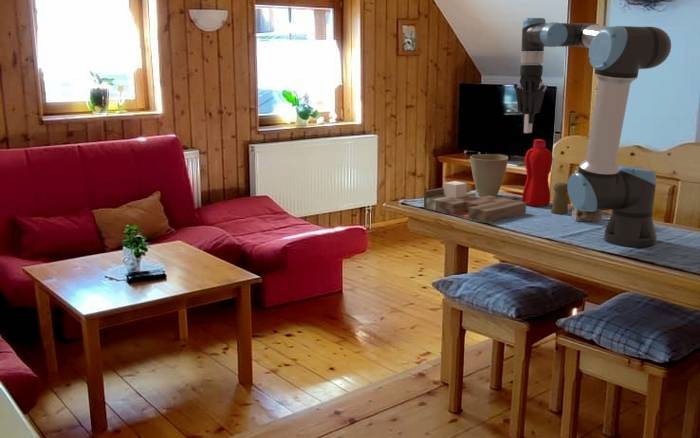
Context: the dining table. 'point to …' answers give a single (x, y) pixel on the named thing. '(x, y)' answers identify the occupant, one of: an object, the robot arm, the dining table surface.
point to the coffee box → (586, 215)
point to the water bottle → (537, 175)
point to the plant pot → (488, 173)
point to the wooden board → (473, 206)
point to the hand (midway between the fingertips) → (527, 132)
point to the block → (455, 189)
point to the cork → (560, 199)
